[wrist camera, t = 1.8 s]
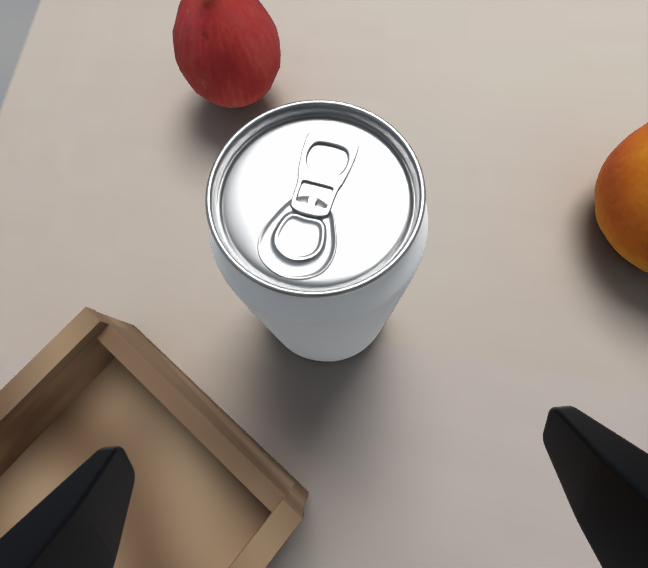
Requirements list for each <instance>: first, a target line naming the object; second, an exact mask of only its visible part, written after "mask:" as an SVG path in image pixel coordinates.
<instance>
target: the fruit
mask: <svg viewBox="0 0 648 568" xmlns="http://www.w3.org/2000/svg"><path fill="white" fill-rule="evenodd" d="M595 215H596V219H597V223H598V225H599V227H600V229H601V231H602V232H603V234H604V235H605V237H606V238H607V240H608V242H609V243H610V244H611V245H612V247H613V248H614V249H615V250H616V251H617V252H618V253H619V254H620V255H621V256H622V257H623V258H624V259H626V260H627V261H629V262H630V263H631V264H633V265H634V266H636V267H638V268H639V269H641V270H643V271H644V272H647V273H648V123H646V124H645V125H643V126H642V127H640V128H639V129H637V130H636V131H634V132H633V133H632V134H630V135H629V136H628V137H627V138H626V139H625V140H623V141H622V142H621V143H620V144H619V145H618V146H617V147H616V148H615V149H614V150H613V151H612V152H611V153H610V155H609V156H608V158H607V159H606V161H605V162H604V164H603V166H602V168H601V170H600V173H599V175H598V178H597V181H596V186H595Z"/></svg>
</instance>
